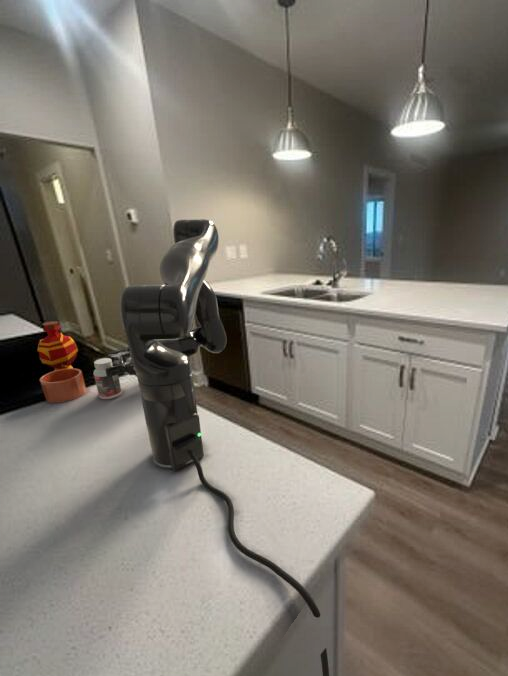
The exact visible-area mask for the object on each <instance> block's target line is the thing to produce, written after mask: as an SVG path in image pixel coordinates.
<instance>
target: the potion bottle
mask: <svg viewBox="0 0 508 676" xmlns="http://www.w3.org/2000/svg"><path fill="white" fill-rule="evenodd" d="M41 325H42V327H43V328H42V330H43V332H44V333H47V336H45V337H43V338H42V339H39V342H38V345H37V351H36V352H38V357H39V360H40V361H41V363H42V364H44V365H47V366H48V367H51V368H53V371H56V370H61V369H69V368H74V367H73V366H72V364H73V363H74V361H75V360H76V358H77V356H78V352H79V348H78V346H77V344H76V341H75V340H74V339H73V338H72V337H71V336H70V335H65V334H63V333H62V332H59V331H60V330H61V326H60V325H59V321H55V320H52V321H46V322H43V323H42V324H41Z"/></svg>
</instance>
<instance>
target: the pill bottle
mask: <svg viewBox="0 0 508 676" xmlns="http://www.w3.org/2000/svg"><path fill="white" fill-rule="evenodd" d="M93 364H94V368H95V369H94V370H93V378H94V381H95V385H96V389H97V393H98V397H99V398H100V399H102V400H109V399H113V398H116V397H119V396H120V395H121V394H122V386H121V382H120V377H119V375H115V376H112V377H108V376H107V375H106V371H105V369H106V368H109V367H113V366H114V364H112V360H111V359H109V358H103V359H99V360H96V361H95V362H94V361H93Z"/></svg>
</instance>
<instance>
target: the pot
mask: <svg viewBox="0 0 508 676" xmlns="http://www.w3.org/2000/svg"><path fill="white" fill-rule="evenodd" d="M39 384H40V386H41V390H42V393H43V396H44V399H45V401H46V402H49V403H64V402H69V401H72V400H75V399H78V398H81V397H82V396H83V395H84V394H86V392H87V386H86V382H85V379H84V374H83V371H82V370H81V369H80V368H75V367H73V368H69V369H61V370H56V371H54V370H53V371H50V372H48V373H46V374H44V375H42V376H41V377H40V378H39Z"/></svg>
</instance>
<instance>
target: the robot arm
mask: <svg viewBox="0 0 508 676" xmlns="http://www.w3.org/2000/svg"><path fill="white" fill-rule="evenodd" d="M172 235H173V241H174V244H173V245H171V246H170V247H169V248H168V249H167V251H166V252H165V254H164V255H163V257H162V259H161V262H160V263H159V264H160V265H159V273H160V277H161V279H162V281H163V283H164V284H135V285H134V284H133V285H128V286H126V287H125V288H124V289H123V290H122V292H121V294H120V298H119V315H120V320H121V325H122V328H123V333H124V336H125V340H126V343H127V348H122V349H118V350H113V351H109V352H108V355H107V356H103V357H98V358H95V359H93V363H94V362H95V361H96V360H99V359H103V358H109V359H111V360H112V364H113V365H112V366H113V367H109V368H106V369H105V371H106V375H107V376H108V377H112V376H115V375H118V376H119V375H122V374H124V375H129V376H134V375H136V378H137V383H138V388H139V393H140V399H141V404H142V410H143V414H144V415H143V416H144V419H145V424H146V430H147V434H148V440H149V444H150V449H151V450H150V451H151V457H152V461H153V464H154V465H156V466H157V467H159V468H161V469H168V470H169V469H170V470H173V471H174V472H176V471H179V470H180V469H183V468H185V467H186V466H188V465H190V464H192V463H193V464H194V466H195V468H196V471H197V475H198V479H199V481H200V483H201V484H202V485H203V486H204V487H205V488H206V489H207V490H208V491H209V492H211V493H213V494H215V495H217V496H218V497H220V498H222V500H223V501H224V502H225V503H226V506H227V509H228V521H227V524H228V525H227V527H228V529H227V530H228V535H229V538H230V540H231V543H232V544H233V546H234V547H235V548H236V549H237V550H238V551H239V552H240V553H242V554H243V555H244V556H246V557H248V558H249V559H251V560H253V561H255V562H257V563H260V564H262V565H264V566H265V567H267V568H268V569H270V570H271V571H272V572H273V573H275V574H276V575H277V576H279V578H281V579H282V580H283V581H285V582H286V583H287V584H288V585H290V586H291V587H292V588H293V589H294V590H295V591H296V592H298V594H299V595H300V597H301V598H302V599H303V600H304V601H305V603H306V605H307V606H308V608H309V610H310V612H311V614H312V616H313V617H315V618H317V619H319V618H320V617H321V612H320V610H319V607H318V605H317V604H316V602H315V601H314V599H313V598H312V595H310V593H309V592H308V591H307V588H305V587H304V586H303V585H302V584H301V583H300V582H299V581H298V580H296V579H295V578H294V577H293V576H291V575H290V574H289V573H288V572H286V571H284V570H283V569H282V568H281V567H280V566H279V565H277V564H276V563H274V562H273V561H272V560H270V559H268V558H266V557H264V556H262V555H260V554H258V553H256V552H254V551H252V550H251V549H249V548H247V547H246V546H245V545H243V543H241V541H240V540H239V539H238V537H237V535H236V532H235V525H234V524H235V509H234V505H233V502H232V500H231V498H230V497H229V495H228V494H227V493H225V492H224V491H223V490H220V489H218V488H216V487H214V486H213V485H212V484H210V483H209V482H208V481H207V479H206V478H205V475H204V472H203V468H202V465H201V462H200V461H199V460H200V459H201V458H203V457H205V453H204V446H203V445H204V444H203V437H202V430H201V423H200V415H199V414H198V407H197V399H196V392H195V391H196V390H195V384H194V383H195V382H194V375H193V368H192V362H191V359H190V357H193V356H195V355H196V354H197V353H198V351H199V347H202V348H204V349H205V350H207V351H208V352H209V353H213V354H219V353H221V352H222V351H224V349H225V348H226V345H227V339H228V337H227V333H226V330H225V328H224V327H225V326H224V325H223V322H222V320H221V318H220V314H219V313H220V312H219V306H218V298H217V295H216V292H214V290H213V288H212V287H211V285H210V284H209V283H208V282H207V281H206V277H207V273H208V270H209V266H210V263H211V261H212V260H213V259H214V257H215V255H216V254H217V251H218V248H219V239H220V238H219V231H218V229H217V226H216V224H214V222H213V221H211V220H209V219H205V218H204V219H203V218H202V219H201V218H200V219H177V220H175V222H174V223H173V229H172ZM195 320H196V322H197V324H198V325H200V326H197V327H194V328H193V325H194V322H195ZM115 364H116V365H115ZM320 663H321V672H322V676H330V669H329V659H328V651H327V647H324V650H322V651H321V653H320Z"/></svg>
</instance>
